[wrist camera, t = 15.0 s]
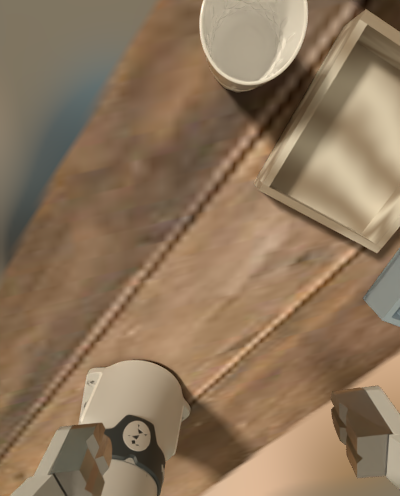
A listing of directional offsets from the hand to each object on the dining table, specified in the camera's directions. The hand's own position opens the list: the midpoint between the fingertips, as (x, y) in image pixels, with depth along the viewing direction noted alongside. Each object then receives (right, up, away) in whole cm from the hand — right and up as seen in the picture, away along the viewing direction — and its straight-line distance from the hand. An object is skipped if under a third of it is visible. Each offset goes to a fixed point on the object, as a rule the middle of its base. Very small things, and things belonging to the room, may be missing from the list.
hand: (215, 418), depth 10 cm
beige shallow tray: (+17, +18, +23) cm, 34 cm away
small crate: (+26, +2, +29) cm, 39 cm away
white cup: (+4, +26, +20) cm, 33 cm away
